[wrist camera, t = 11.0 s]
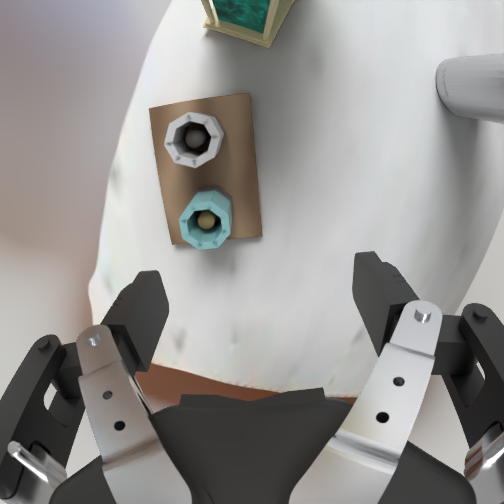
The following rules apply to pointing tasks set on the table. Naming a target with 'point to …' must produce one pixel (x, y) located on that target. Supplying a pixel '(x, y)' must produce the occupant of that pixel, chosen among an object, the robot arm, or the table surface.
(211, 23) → the carriage clock
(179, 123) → the grey sleeve
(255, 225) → the brown peg stand
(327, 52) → the table surface
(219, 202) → the teal sleeve
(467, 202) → the table surface
